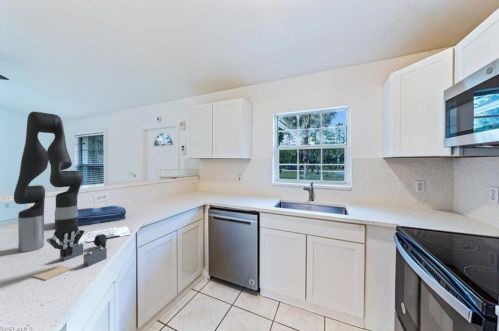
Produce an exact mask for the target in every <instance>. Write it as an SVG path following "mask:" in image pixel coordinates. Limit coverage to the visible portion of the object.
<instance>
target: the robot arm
mask: <svg viewBox="0 0 499 331" xmlns="http://www.w3.org/2000/svg"><path fill="white" fill-rule="evenodd" d="M64 129H65V128H64V123H63V120H62V118H61V117H60V116H59V115H57V114H54V113H47V112H42V111H41V112H40V111H31V112H30V113H29V114H28V115H27V121H26V134H25V140H24V141H25V142H24V147H23V148H24V149H23V152H22V156H21V159H20V160H21V161H20V167H19V168H20V169H19V173H18V174H19V175H18V178H17V183H16V186H15V189H14V193H13V201H14V203H15V204H17V205H27V204H33V205H32V206H30V207H28V208H24V209H23V210H21V211H19V212H18V216H17V217H18V220H17V221H18V227H17V228H18V230H17V232H18V233H17V234H18V235H17V236H18V240H17V243H18V250H17V251H18V252H19V253H24V252H25V253H26V252H31V251H32V252H33V251H35V250H39V249H42V248H43V247H44V245H45V199H46V190H45V187H44V186H43V185H40V184H38V185H30V184H31V182H32V181H34V180H35V179H36V178H38V177H39V176H40V175H41V174H42V173H44V172H45V171H46V170H47V168H48V166H49V164H50V174H49V175H50V176H49V184H51V186H53V187H54V188H68V189H67V190H66V191H63V192H60V193H59V192H58V193H57V194H56V195H55V210H54V227H55V228H54V233H53V236H51V237H50V238H49V237H48V238H47V239H46V242H47V243H48V244H49V245H51V247H53V248H54V249H55V250H56V249H57V250H60V249H61V256H62V257H64V258H65V257H67V256H70V255H71V254H72V253H73V245H75V244H77V243H78V241H79V240H80V238H81V237H82V235H84V233H85V230H83V229H80V228H79V226H77V225H78V209H79V208H78V196H79V193H80V189H81V186H82V183H83V179H84V178H83V175H82V173H81V172H80V171H79V170H68V169H70V168H71V167H72V166H73V165H72V164H73V162H72V160H71V157H70V154H69V151H68V148H67V142H66V141H67V140H66V136H65V130H64ZM39 133H43V134H45V133H46V134H54V138H53V140H52V142H51V143H50V144H49V146H48V148H47V150H46V148H45V147H44V146H43V145H42V143H41V140H39ZM57 240H58V242H57Z"/></svg>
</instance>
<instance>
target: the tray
mask: <svg viewBox="0 0 499 331" xmlns="http://www.w3.org/2000/svg"><path fill="white" fill-rule="evenodd" d="M100 234H104V235H106V237H107V239H108V238H113V237H116V236H119V237H124V236H129V235H131V234H132V233H131V231H130V229H129V228H128V226H127V225H125V226H121V227H110V228H105V229H99V230H95V231H89V232H86V234H83V235H82V237H81V238H80V240H79V241H78V243H80V244H81V243H85V242H86V243H90V242H94V239H95V237H96V236H97V235H100Z"/></svg>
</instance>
